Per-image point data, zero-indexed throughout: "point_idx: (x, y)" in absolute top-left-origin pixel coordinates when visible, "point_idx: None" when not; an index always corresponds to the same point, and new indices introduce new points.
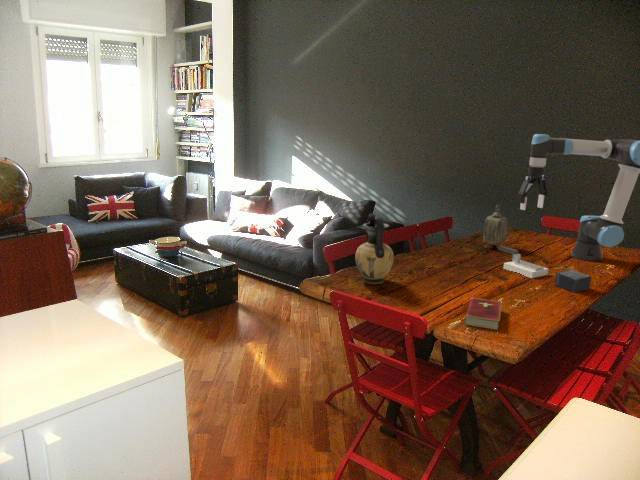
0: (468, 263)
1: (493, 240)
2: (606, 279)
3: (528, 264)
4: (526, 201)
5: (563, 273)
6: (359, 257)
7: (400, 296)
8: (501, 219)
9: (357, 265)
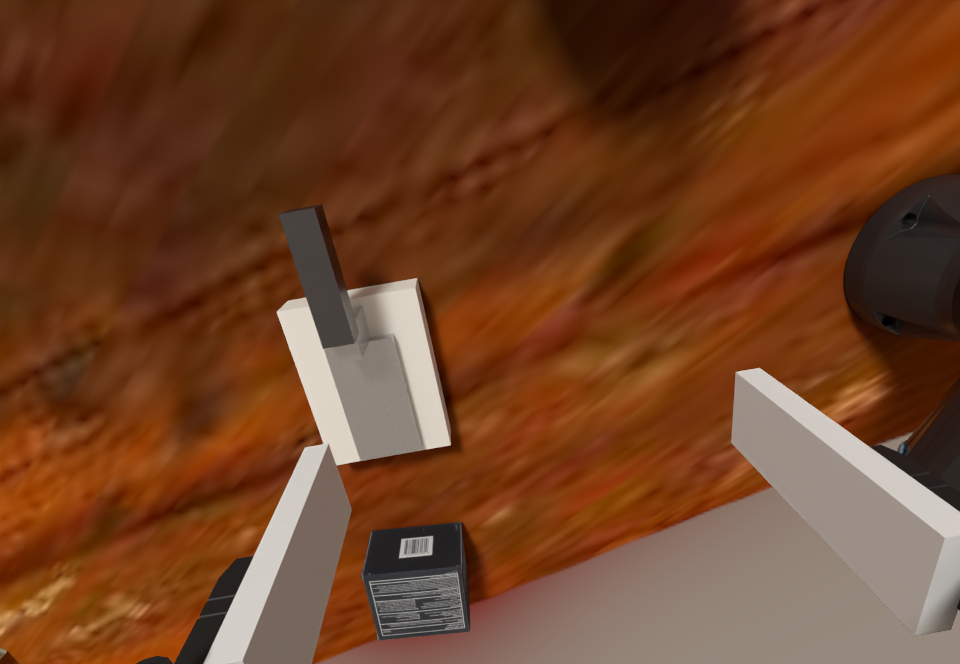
0: (119, 149)
1: None
2: (640, 521)
3: (373, 400)
4: (318, 634)
5: (381, 591)
6: None
7: None
8: None
9: None
